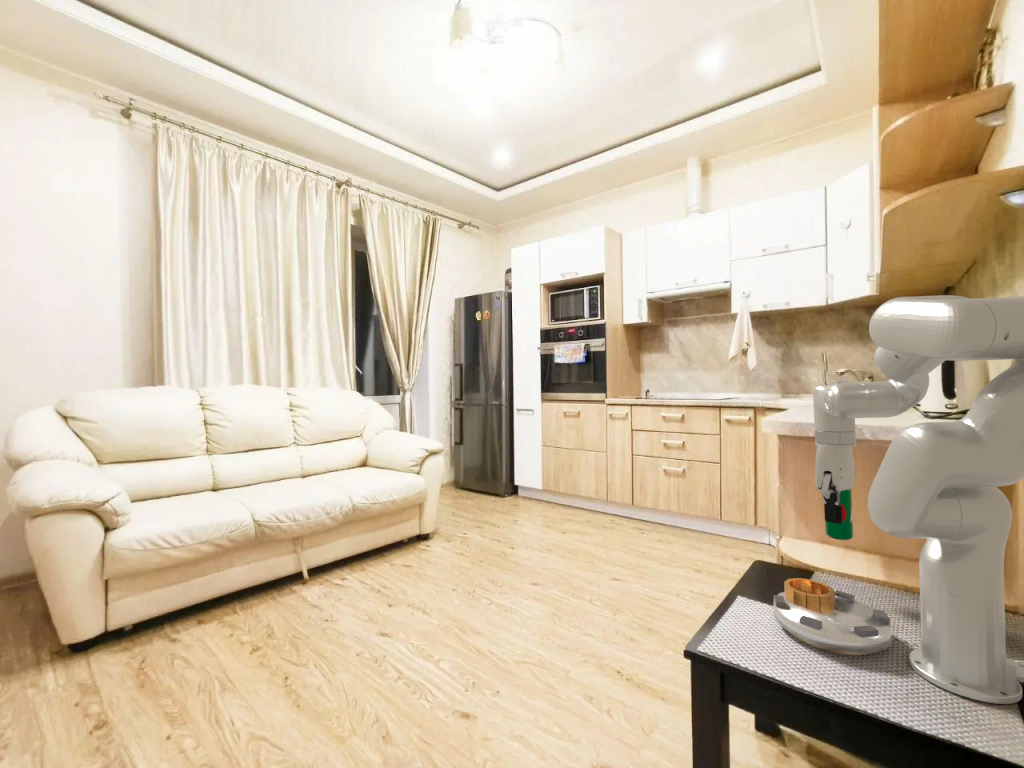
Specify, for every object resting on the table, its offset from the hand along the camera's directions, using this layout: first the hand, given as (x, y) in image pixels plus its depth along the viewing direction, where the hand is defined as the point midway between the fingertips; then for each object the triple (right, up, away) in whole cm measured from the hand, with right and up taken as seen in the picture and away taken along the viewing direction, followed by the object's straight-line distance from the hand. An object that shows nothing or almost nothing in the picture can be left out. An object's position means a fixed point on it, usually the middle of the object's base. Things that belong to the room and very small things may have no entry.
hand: (838, 519), depth 101 cm
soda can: (0, -4, 0) cm, 4 cm away
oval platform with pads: (-14, -15, -16) cm, 26 cm away
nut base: (-14, -16, -16) cm, 27 cm away
